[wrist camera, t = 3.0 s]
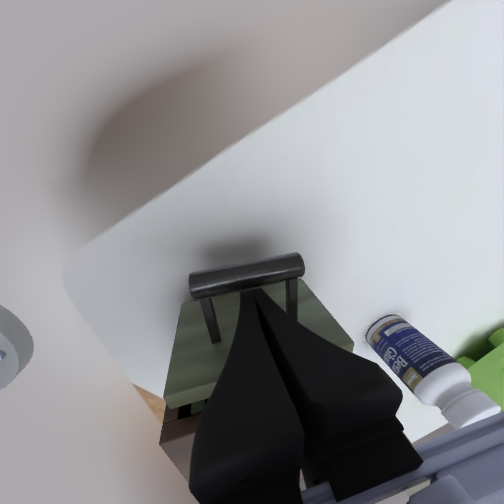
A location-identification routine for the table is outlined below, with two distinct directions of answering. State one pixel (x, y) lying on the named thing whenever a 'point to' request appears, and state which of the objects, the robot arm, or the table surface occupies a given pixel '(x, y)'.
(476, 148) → the table surface
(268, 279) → the drawer
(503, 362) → the teapot
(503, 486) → the robot arm
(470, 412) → the pill bottle
